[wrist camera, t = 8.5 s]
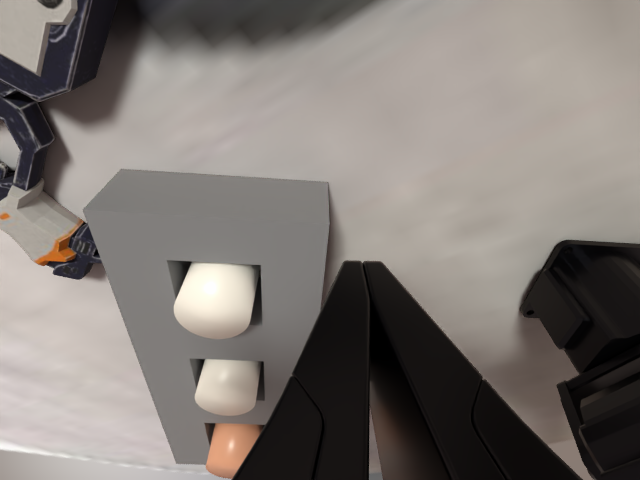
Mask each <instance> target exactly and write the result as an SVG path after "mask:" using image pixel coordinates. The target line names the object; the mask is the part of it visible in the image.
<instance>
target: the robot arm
mask: <svg viewBox="0 0 640 480" xmlns="http://www.w3.org/2000/svg"><path fill="white" fill-rule="evenodd" d="M566 248H567V249H566ZM520 310H521V313H522V314H523V316H524V317H528V318H540V320H541V322H542V323H543V325H544V327H545V328H546V330H547V331H548V333H549V335H550V336H551V338H552V340H553V341H554V343H555V345H556V346H557V347H558V348H559V349H563V350H564V351H565V352H566V354H567V355H568V357H569V359H570V360H571V362H572V363H573V365H574V367H575V368H576V370H577V371H578V373H579V375H578V376H576V377H574V378H572V379H570V380H569V381H563V382H561V383H559V384H557V388H558V391H559V394H560V397H561V402H562V405H563V408H564V411H565V413H566V416H567V419H568V422H569V425H570V427H571V430H572V433H573V436H574V439H575V441H576V444H577V447H578V450H579V453H580V455H581V458H582V461H583V463H584V465H585V466H586V468H587V470H588V473H589V474H590V476H591V477H592V478H593V479H594V480H640V244H630V243H613V242H596V241H579V240H565V241H562V242H560V243H559V244H558V245H557V246H556V248H555V250H554V252H553V253H552V255H551V257H550V258H549V260H548V262H547V264H546V265H545V267H544V269H543V271H542V272H541V274H540V276H539V277H538V279H537V281H536V283H535V284H534V286H533V288H532V290H531V291H530V293H529V295H528V296H527V298H526V300H525V302H524V303H523V305H522V307H521V309H520ZM369 407H370V408H371V414H372V419H373V425H374V430H375V436H376V442H377V447H378V453H379V459H380V464H381V470H382V476H383V480H583V479H581V478H580V477H579V476H578V475H577V474H576V473H575V472H574V471H573V470H572V469H571V468H570V467H569V466H568V465H567V464H566V463H565V462H564V461H563V460H562V459H561V458H560V457H559V456H557V455H556V454H555V453H554V452H553V451H552V450H551V449H550V448H549V447H548V446H547V445H546V444H545V443H544V442H543V441H542V440H541V439H540V438H539V437H538V436H537V435H536V434H535V433H534V432H533V431H532V430H531V429H530V428H529V427H528V426H527V425H526V424H525V423H524V422H523V421H522V419H521V418H520V417H519V416H518V415H517V414H516V413H515V412H514V411H513V410H512V409H511V407H510V406H509V405H508V404H507V403H506V402H505V401H504V400H503V399H502V398H501V397H500V396H499V394H498V393H497V392H496V391H495V390H494V389H493V388H492V386H491V385H490V384H489V383H488V382H487V381H486V380H485V379H483V380H482V375H481V374H480V373H479V372H478V371H477V370H476V368H475V367H474V366H473V365H472V364H471V363H470V362H469V360H468V359H467V358H466V357H465V356H464V355H463V354H462V353H461V351H460V350H459V349H458V348H457V347H456V346H455V345H454V343H453V342H452V341H451V340H450V339H449V338H448V337H447V335H446V334H445V333H444V332H443V331H442V330H441V329H440V327H439V326H438V325H437V324H436V323H435V322H434V321H433V320H432V318H431V317H430V316H429V315H428V314H427V313H426V312H425V310H424V309H423V308H422V307H421V306H420V305H419V304H418V302H417V301H416V300H415V299H414V298H413V297H412V296H411V294H410V293H409V292H408V291H407V290H406V289H405V288H404V287H403V285H402V284H401V283H400V282H399V281H398V280H397V279H396V277H395V276H394V275H393V274H392V273H391V272H390V271H389V269H388V268H387V267H386V266H385V265H384V264H383V263H382V262H380V261H364V262H363V263H362V262H361V261H348V260H346V261H344V262H343V263H342V266H341V268H340V270H339V272H338V274H337V276H336V278H335V281H334V283H333V285H332V287H331V289H330V291H329V294H328V296H327V298H326V300H325V302H324V304H323V306H322V309H321V311H320V313H319V315H318V317H317V319H316V321H315V324H314V326H313V328H312V330H311V332H310V334H309V337H308V339H307V341H306V343H305V345H304V347H303V349H302V352H301V354H300V356H299V358H298V360H297V362H296V364H295V367H294V369H293V371H292V373H291V376H290V377H289V379H288V381H287V383H286V385H285V388H284V390H283V392H282V394H281V396H280V398H279V400H278V402H277V404H276V406H275V408H274V410H273V412H272V414H271V416H270V417H269V419H268V421H267V423H266V424H265V426H264V428H263V430H262V431H261V433H260V435H259V436H258V438H257V440H256V441H255V443H254V445H253V446H252V448H251V450H250V451H249V453H248V454H247V456H246V458H245V459H244V461H243V462H242V464H241V465H240V467H239V469H238V470H237V472H236V473H235V475H234V476H233V478H232V480H369Z"/></svg>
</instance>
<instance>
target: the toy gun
mask: <svg viewBox="0 0 640 480" xmlns="http://www.w3.org/2000/svg"><path fill="white" fill-rule="evenodd" d="M117 1H118V0H0V119H1V120H3V121H4V123H5V124H6V126H7V128H8V130H9V131H10V133H11V135H12V137H13V138H14V140H15V142H16V144H17V145H18V147H19V149H20V153H19V157H18V162H17V166H16V171H15V173H7V172H8V167H7V165H6V164H4V163H0V229H1V230H2V231H4V232H6V233H7V234H9V235H10V236H11V237H12V238H13V239H14V240H15V241H16V242H17V243H18V244H19V245H20V247H21V248H22V249H23V250H24V251H25V252H26V253H27V255H28V256H29V257H30V259H31V260H32V261H34V262H35V263H37V264H38V265H42V266H45V265H47V266H49V267H52V268H54V271H53V274H54V275H58V276H63V277H67V278H72V279H77V280H79V279H82V278H83V277H84V276H85V275H86V274H87V273H88V272H90V270H91V268H92V266H93V264H94V263H102V261H101V258H100V255H99V253H98V250H97V247H96V244H95V242H94V239H93V236H92V234H91V231H90V228H89V225H88V223H86V224H85V225H84V226H83V220H81V219H80V218H79V217H77V216H76V215H74V214H73V213H71V212H70V211H69V210H67V209H66V208H64V207H63V206H61V205H60V204H58V203H57V202H56V201H55V200H54V199H53V198H51V197H50V196H49V195H48V194H47V193H45V192H44V191H43V186H44V179H42V178H41V175H42V171H43V166H44V162H45V157H46V153H47V148H48V146H49V145H50V144H51V143H52V141H53V140H54V139H55V137H54V135H53V133H52V131H51V129H50V127H49V125H48V123H47V121H46V119H45V117H44V115H43V113H42V111H41V109H40V107H39V105H38V103H37V101H38V102H41V101H43V100H46V99H49V98H52V97H55V96H58V95H61V94H64V93H67V92H69V91H72V90H73V89H75V88H77V87H79V86H81V85H83V84H85V83H86V82H88V81H90V80H92V79H94V78H95V77H96V74H97V70H98V67H99V64H100V60H101V57H102V53H103V50H104V46H105V43H106V39H107V36H108V33H109V29H110V26H111V22H112V19H113V15H114V12H115V8H116V5H117Z"/></svg>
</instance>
